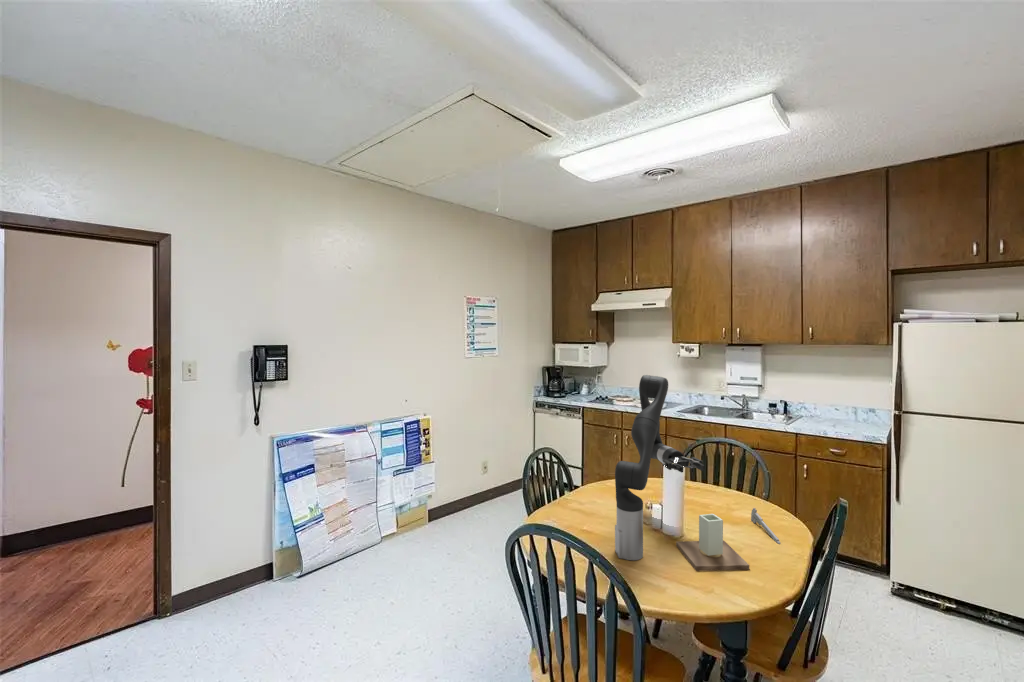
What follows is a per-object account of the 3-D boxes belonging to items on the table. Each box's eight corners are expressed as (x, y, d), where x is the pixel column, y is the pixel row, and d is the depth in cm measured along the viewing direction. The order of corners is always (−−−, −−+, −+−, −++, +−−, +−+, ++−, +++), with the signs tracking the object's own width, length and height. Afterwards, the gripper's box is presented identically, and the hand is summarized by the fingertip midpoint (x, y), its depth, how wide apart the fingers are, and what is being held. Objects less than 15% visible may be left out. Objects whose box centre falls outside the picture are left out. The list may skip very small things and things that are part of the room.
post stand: (696, 570, 158) (696, 537, 157) (676, 545, 176) (676, 515, 175) (749, 569, 158) (749, 536, 158) (723, 544, 176) (724, 514, 176)
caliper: (750, 521, 197) (751, 506, 196) (753, 521, 197) (753, 506, 196) (778, 544, 176) (778, 528, 176) (781, 544, 176) (781, 528, 176)
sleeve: (708, 555, 164) (708, 521, 163) (698, 548, 169) (699, 515, 169) (722, 553, 165) (723, 520, 164) (713, 546, 170) (713, 513, 170)
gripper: (654, 448, 191) (675, 460, 175) (686, 446, 194) (710, 457, 178) (654, 467, 191) (675, 480, 176) (686, 464, 194) (710, 477, 178)
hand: (693, 468), depth 177 cm, fingers open, 8 cm apart
